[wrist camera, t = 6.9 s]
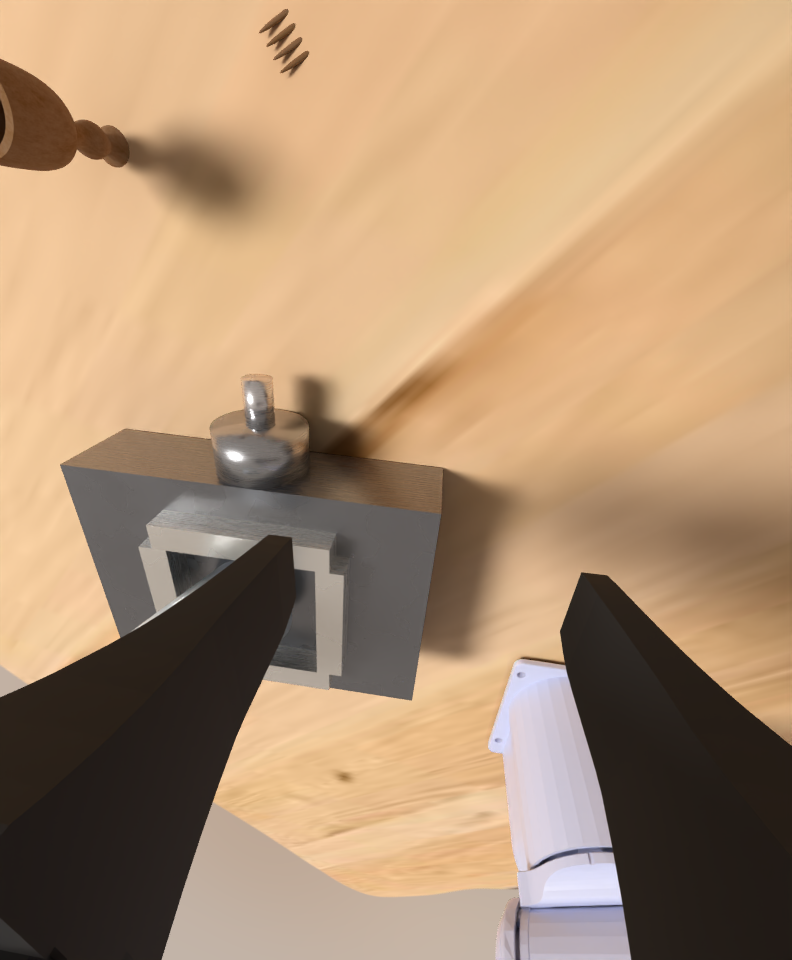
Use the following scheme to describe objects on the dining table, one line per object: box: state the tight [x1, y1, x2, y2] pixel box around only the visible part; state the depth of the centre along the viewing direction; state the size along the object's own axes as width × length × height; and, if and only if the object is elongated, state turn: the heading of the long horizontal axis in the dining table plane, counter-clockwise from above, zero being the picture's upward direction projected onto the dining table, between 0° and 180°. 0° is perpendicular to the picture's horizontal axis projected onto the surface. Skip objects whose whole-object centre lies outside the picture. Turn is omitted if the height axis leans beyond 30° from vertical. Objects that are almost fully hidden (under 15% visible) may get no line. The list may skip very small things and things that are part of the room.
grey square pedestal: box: [60, 374, 443, 700], centre depth 20 cm, size 16×16×5 cm
